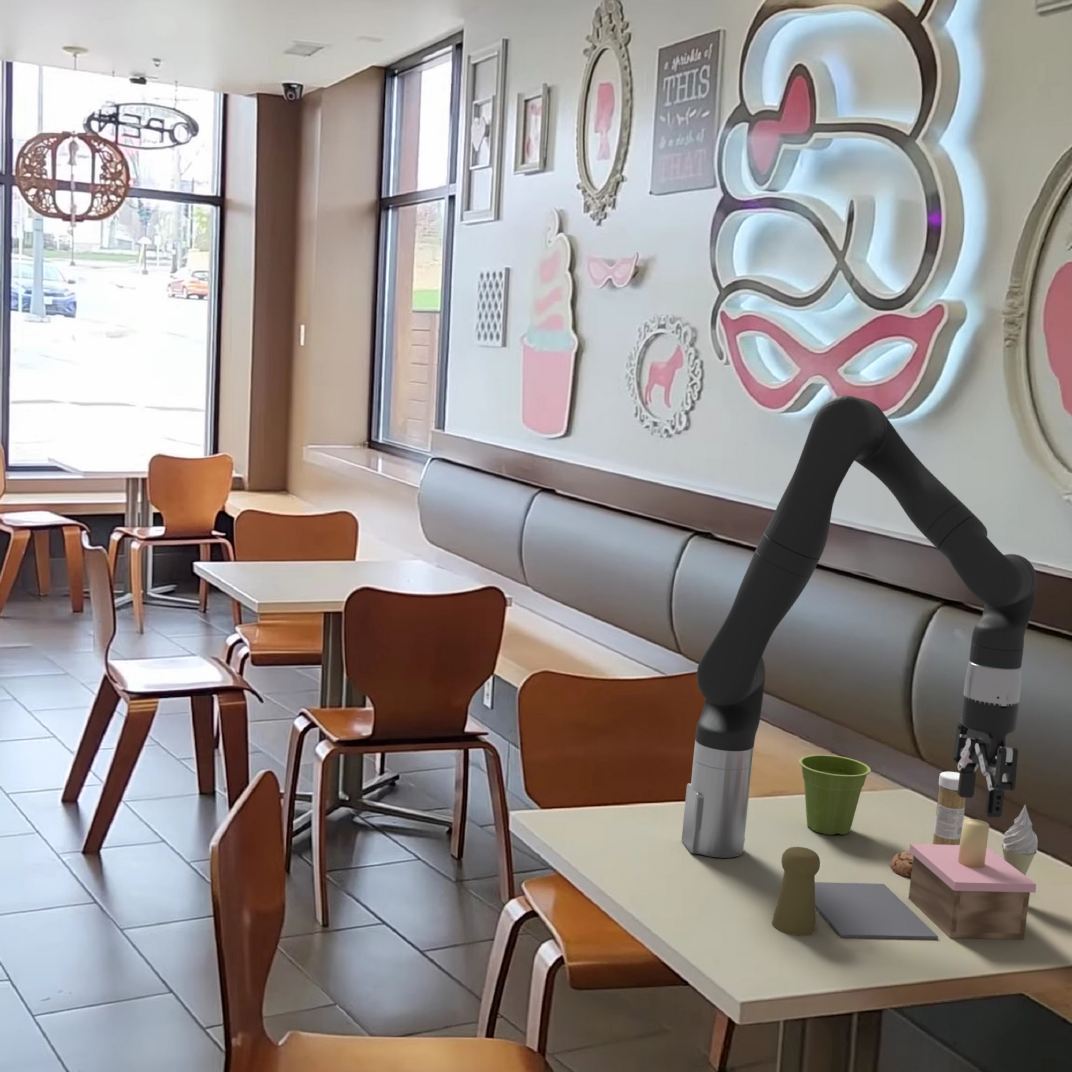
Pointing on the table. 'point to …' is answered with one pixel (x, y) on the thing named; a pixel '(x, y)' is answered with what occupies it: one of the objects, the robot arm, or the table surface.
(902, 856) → the cookie
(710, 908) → the table surface
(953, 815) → the sprinkles bottle
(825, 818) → the plant pot
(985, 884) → the lid
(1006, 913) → the box
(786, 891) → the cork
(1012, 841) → the ice cream cone
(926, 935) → the mat
